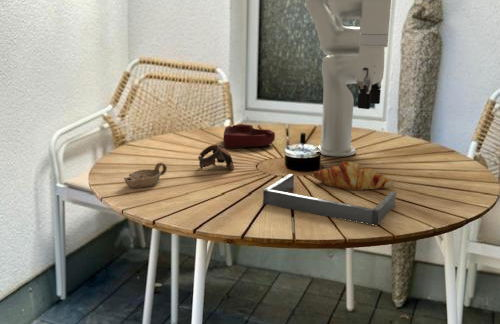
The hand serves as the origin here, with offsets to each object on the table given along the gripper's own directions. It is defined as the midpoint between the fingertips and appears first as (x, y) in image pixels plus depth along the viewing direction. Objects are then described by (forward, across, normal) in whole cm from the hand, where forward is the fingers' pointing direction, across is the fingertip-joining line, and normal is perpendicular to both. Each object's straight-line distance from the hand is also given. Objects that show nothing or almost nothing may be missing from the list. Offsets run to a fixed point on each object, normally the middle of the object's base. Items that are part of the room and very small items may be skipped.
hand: (368, 105), depth 161 cm
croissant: (+21, +10, 0) cm, 23 cm away
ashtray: (+20, -12, -46) cm, 52 cm away
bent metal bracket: (+20, +27, 0) cm, 34 cm away
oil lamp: (+20, +38, -48) cm, 64 cm away
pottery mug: (+20, +16, -39) cm, 47 cm away
